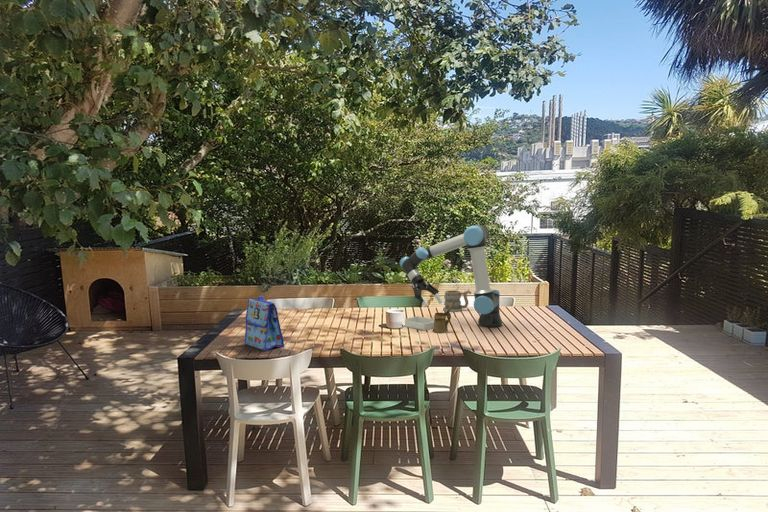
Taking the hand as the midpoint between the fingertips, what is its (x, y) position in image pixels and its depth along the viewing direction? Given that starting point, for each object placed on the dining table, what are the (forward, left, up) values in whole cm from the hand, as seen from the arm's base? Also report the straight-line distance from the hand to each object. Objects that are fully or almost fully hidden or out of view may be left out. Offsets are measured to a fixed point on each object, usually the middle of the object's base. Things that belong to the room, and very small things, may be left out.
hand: (434, 304), depth 333 cm
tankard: (+10, -59, -16) cm, 62 cm away
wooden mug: (-7, +1, -16) cm, 18 cm away
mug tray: (+12, -4, -16) cm, 20 cm away
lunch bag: (+69, +77, -16) cm, 105 cm away
